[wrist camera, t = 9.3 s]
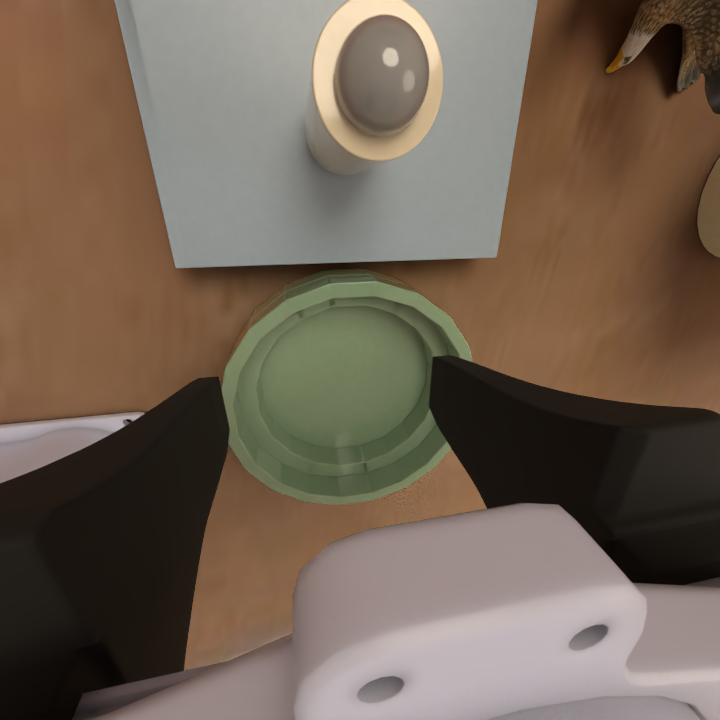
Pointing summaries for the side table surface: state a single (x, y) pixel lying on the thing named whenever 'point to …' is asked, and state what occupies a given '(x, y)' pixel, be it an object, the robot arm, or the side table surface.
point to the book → (288, 144)
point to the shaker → (371, 86)
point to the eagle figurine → (700, 40)
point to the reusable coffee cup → (710, 212)
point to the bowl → (339, 387)
